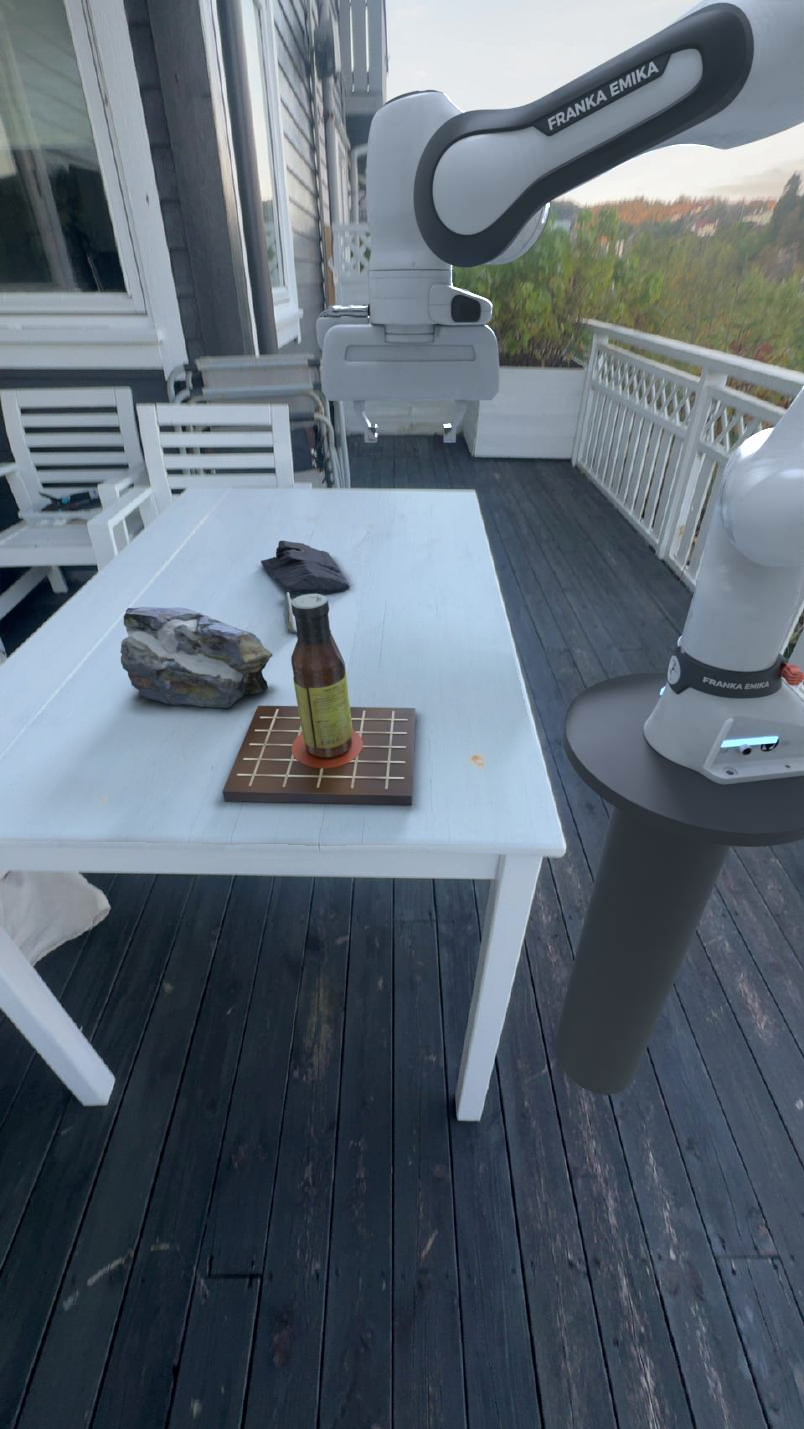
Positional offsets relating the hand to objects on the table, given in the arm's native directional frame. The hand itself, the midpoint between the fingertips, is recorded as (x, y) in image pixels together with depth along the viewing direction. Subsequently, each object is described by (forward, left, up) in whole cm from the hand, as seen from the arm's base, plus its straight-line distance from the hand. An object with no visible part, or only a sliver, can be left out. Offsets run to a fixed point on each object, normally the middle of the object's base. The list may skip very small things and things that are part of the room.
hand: (410, 441), depth 75 cm
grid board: (+10, +18, -34) cm, 40 cm away
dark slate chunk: (+23, -41, -34) cm, 58 cm away
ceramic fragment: (+22, -22, -34) cm, 46 cm away
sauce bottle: (+10, +18, -33) cm, 39 cm away
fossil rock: (+30, +5, -34) cm, 46 cm away
